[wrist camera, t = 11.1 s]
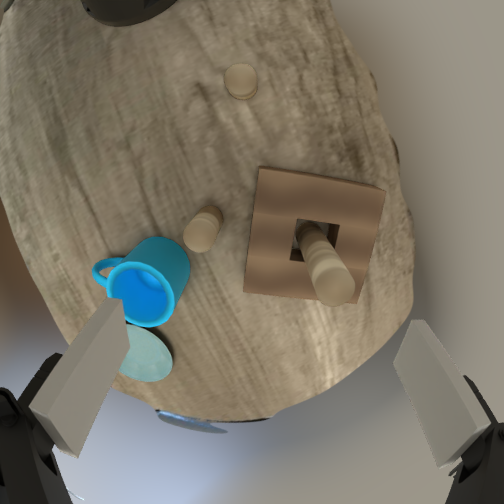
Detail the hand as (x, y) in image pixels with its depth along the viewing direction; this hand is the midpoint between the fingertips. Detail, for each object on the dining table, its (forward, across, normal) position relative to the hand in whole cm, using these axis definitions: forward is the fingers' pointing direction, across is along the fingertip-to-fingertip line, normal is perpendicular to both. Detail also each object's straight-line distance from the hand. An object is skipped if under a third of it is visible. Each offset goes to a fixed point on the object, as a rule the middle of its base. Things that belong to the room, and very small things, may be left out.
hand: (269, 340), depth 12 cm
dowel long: (+24, +6, -3) cm, 25 cm away
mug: (+24, -14, -9) cm, 30 cm away
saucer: (+24, -17, -24) cm, 38 cm away
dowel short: (+24, -3, +14) cm, 28 cm away
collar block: (+24, +6, -3) cm, 25 cm away
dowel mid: (+24, -6, -2) cm, 25 cm away
